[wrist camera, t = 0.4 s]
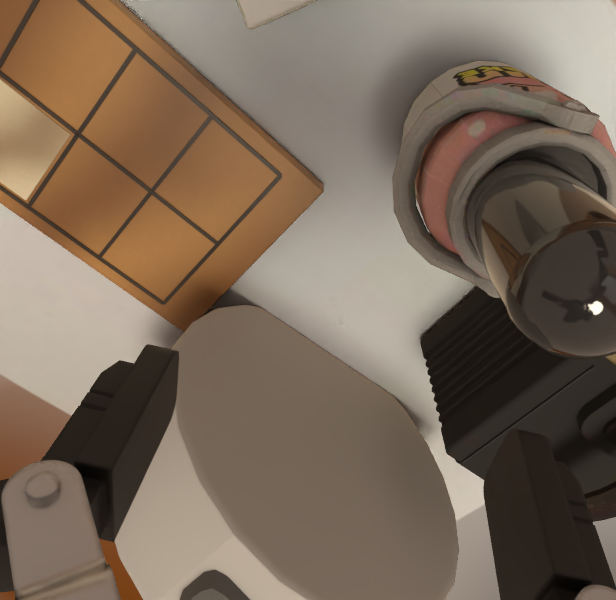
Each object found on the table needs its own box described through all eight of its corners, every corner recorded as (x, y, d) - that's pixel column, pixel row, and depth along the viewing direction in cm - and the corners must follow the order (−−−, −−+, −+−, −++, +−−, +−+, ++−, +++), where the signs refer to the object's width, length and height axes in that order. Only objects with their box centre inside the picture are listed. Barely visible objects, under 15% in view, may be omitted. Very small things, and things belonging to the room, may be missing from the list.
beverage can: (364, 185, 34) (378, 282, 23) (403, 35, 29) (441, 73, 19) (510, 215, 34) (587, 321, 24) (569, 72, 30) (693, 127, 20)
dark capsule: (468, 160, 21) (536, 256, 14) (591, 151, 20) (723, 246, 13) (461, 265, 23) (517, 393, 16) (572, 259, 23) (676, 387, 16)
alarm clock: (151, 342, 40) (21, 615, 23) (207, 271, 37) (102, 529, 20) (372, 474, 47) (395, 766, 30) (436, 424, 43) (502, 718, 26)
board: (-85, 129, 33) (-99, 135, 32) (26, -84, 27) (13, -86, 26) (189, 324, 39) (184, 334, 38) (324, 184, 34) (323, 191, 33)
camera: (677, 293, 37) (864, 470, 24) (514, 414, 43) (593, 608, 30) (571, 194, 34) (721, 337, 21) (410, 340, 39) (449, 521, 27)
